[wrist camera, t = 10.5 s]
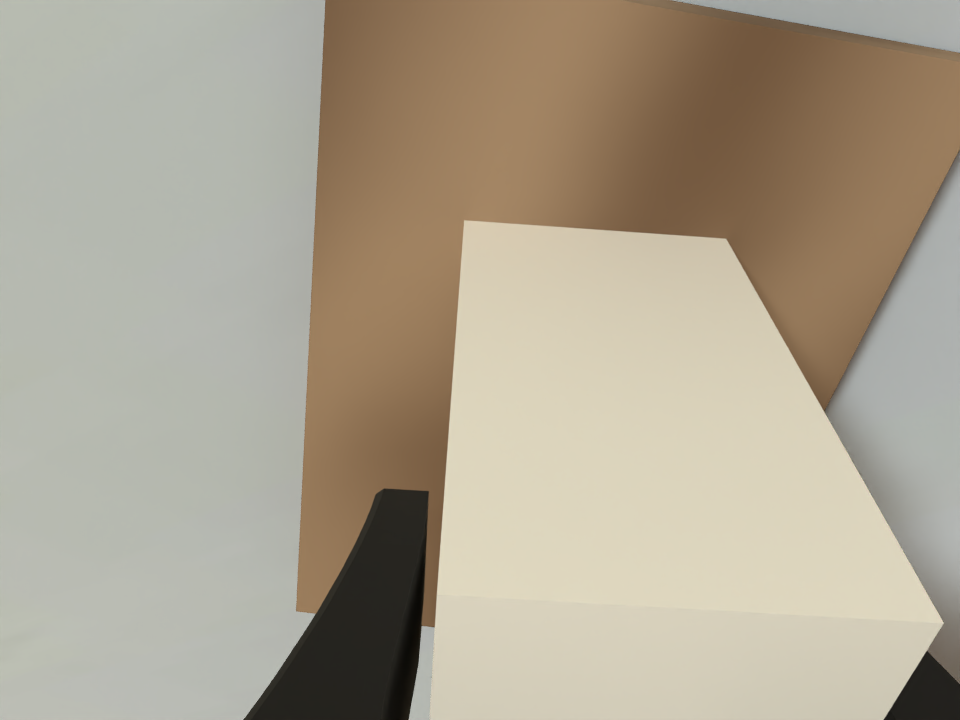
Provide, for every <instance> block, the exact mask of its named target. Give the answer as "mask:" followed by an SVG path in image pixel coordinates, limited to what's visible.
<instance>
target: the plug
mask: <svg viewBox="0 0 960 720" xmlns="http://www.w3.org/2000/svg"><path fill="white" fill-rule="evenodd" d="M943 624H944V623H943V621H942V619H941V617H940V616H939V614H938V612H937V610H936V609H935V607H934V605H933V603H932V602H931V600H930V598H929V596H928V594H927V593H926V591H925V589H924V587H923V586H922V584H921V582H920V580H919V579H918V577H917V575H916V573H915V571H914V570H913V568H912V566H911V564H910V563H909V561H908V559H907V557H906V556H905V554H904V552H903V550H902V548H901V547H900V545H899V543H898V541H897V540H896V538H895V536H894V534H893V533H892V531H891V529H890V527H889V526H888V524H887V522H886V520H885V518H884V517H883V515H882V513H881V511H880V510H879V508H878V506H877V504H876V503H875V501H874V499H873V497H872V496H871V494H870V492H869V490H868V488H867V487H866V485H865V483H864V481H863V480H862V478H861V476H860V474H859V473H858V471H857V469H856V467H855V465H854V464H853V462H852V460H851V458H850V457H849V455H848V453H847V451H846V450H845V448H844V446H843V444H842V443H841V441H840V439H839V437H838V435H837V434H836V432H835V430H834V428H833V427H832V425H831V423H830V421H829V420H828V418H827V416H826V414H825V412H824V411H823V409H822V407H821V405H820V404H819V402H818V400H817V398H816V397H815V395H814V393H813V391H812V390H811V388H810V386H809V384H808V382H807V381H806V379H805V377H804V375H803V374H802V372H801V370H800V368H799V367H798V365H797V363H796V361H795V359H794V358H793V356H792V354H791V352H790V351H789V349H788V347H787V345H786V344H785V342H784V340H783V338H782V337H781V335H780V333H779V331H778V329H777V328H776V326H775V324H774V322H773V321H772V319H771V317H770V315H769V314H768V312H767V310H766V308H765V306H764V305H763V303H762V301H761V299H760V298H759V296H758V294H757V292H756V291H755V289H754V287H753V285H752V284H751V282H750V280H749V278H748V276H747V275H746V273H745V271H744V269H743V268H742V266H741V264H740V262H739V261H738V259H737V257H736V255H735V253H734V252H733V250H732V248H731V246H730V245H729V243H728V241H727V239H723V238H709V237H695V236H681V235H666V234H652V233H638V232H624V231H610V230H595V229H581V228H567V227H553V226H539V225H524V224H510V223H496V222H482V221H467V220H464V229H463V243H462V257H461V270H460V284H459V298H458V312H457V325H456V339H455V353H454V366H453V380H452V394H451V407H450V421H449V435H448V448H447V462H446V476H445V489H444V503H443V517H442V531H441V544H440V558H439V572H438V585H437V600H436V617H435V634H434V651H433V668H432V685H431V702H430V719H429V720H884V718H885V717H886V715H887V713H888V712H889V710H890V709H891V707H892V705H893V704H894V702H895V701H896V699H897V697H898V696H899V694H900V693H901V691H902V689H903V688H904V686H905V685H906V683H907V681H908V680H909V678H910V677H911V675H912V673H913V672H914V670H915V669H916V667H917V665H918V664H919V662H920V661H921V659H922V657H923V656H924V654H925V653H926V651H927V649H928V648H929V646H930V645H931V643H932V641H933V640H934V638H935V637H936V635H937V633H938V632H939V630H940V629H941V627H942V625H943Z"/></svg>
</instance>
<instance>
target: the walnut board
mask: <svg viewBox="0 0 960 720" xmlns="http://www.w3.org/2000/svg"><path fill="white" fill-rule="evenodd" d="M959 149H960V53H957V52H951V51H946V50H940V49H935V48H929V47H924V46H918V45H913V44H907V43H902V42H897V41H891V40H886V39H880V38H875V37H869V36H864V35H858V34H853V33H847V32H842V31H836V30H831V29H825V28H820V27H814V26H809V25H803V24H798V23H792V22H787V21H781V20H776V19H770V18H765V17H759V16H754V15H748V14H743V13H737V12H732V11H726V10H721V9H715V8H710V7H704V6H699V5H693V4H688V3H683V2H677V1H672V0H326V1H325V22H324V43H323V64H322V84H321V105H320V126H319V147H318V168H317V188H316V209H315V230H314V251H313V272H312V292H311V313H310V334H309V355H308V376H307V396H306V417H305V438H304V459H303V480H302V501H301V521H300V542H299V563H298V584H297V605H296V611H299V612H307V613H317V611H318V610H319V608H320V606H321V604H322V603H323V601H324V599H325V597H326V596H327V594H328V592H329V590H330V589H331V587H332V585H333V584H334V582H335V580H336V578H337V577H338V575H339V573H340V571H341V570H342V568H343V566H344V564H345V562H346V560H347V558H348V556H349V554H350V552H351V550H352V549H353V547H354V545H355V543H356V541H357V538H358V536H359V534H360V532H361V530H362V528H363V526H364V523H365V521H366V519H367V516H368V514H369V511H370V509H371V506H372V503H373V500H374V497H375V495H376V494H377V493H378V492H379V491H381V490H382V489H384V488H386V489H403V490H419V491H429V500H428V522H427V543H426V565H425V587H424V601H423V613H422V626H429V627H435V617H436V600H437V585H438V572H439V558H440V544H441V531H442V517H443V503H444V489H445V476H446V462H447V448H448V435H449V421H450V407H451V394H452V380H453V366H454V353H455V339H456V325H457V312H458V298H459V284H460V270H461V257H462V243H463V229H464V220H467V221H482V222H496V223H510V224H524V225H539V226H553V227H567V228H581V229H595V230H610V231H624V232H638V233H652V234H666V235H681V236H695V237H709V238H723V239H727V241H728V243H729V245H730V246H731V248H732V250H733V252H734V253H735V255H736V257H737V259H738V261H739V262H740V264H741V266H742V268H743V269H744V271H745V273H746V275H747V276H748V278H749V280H750V282H751V284H752V285H753V287H754V289H755V291H756V292H757V294H758V296H759V298H760V299H761V301H762V303H763V305H764V306H765V308H766V310H767V312H768V314H769V315H770V317H771V319H772V321H773V322H774V324H775V326H776V328H777V329H778V331H779V333H780V335H781V337H782V338H783V340H784V342H785V344H786V345H787V347H788V349H789V351H790V352H791V354H792V356H793V358H794V359H795V361H796V363H797V365H798V367H799V368H800V370H801V372H802V374H803V375H804V377H805V379H806V381H807V382H808V384H809V386H810V388H811V390H812V391H813V393H814V395H815V397H816V398H817V400H818V402H819V404H820V405H821V407H822V409H823V411H825V409H826V407H827V405H828V403H829V401H830V399H831V397H832V395H833V393H834V391H835V389H836V387H837V385H838V384H839V382H840V380H841V378H842V376H843V374H844V372H845V370H846V368H847V366H848V364H849V362H850V360H851V358H852V356H853V354H854V353H855V351H856V349H857V347H858V345H859V343H860V341H861V339H862V337H863V335H864V333H865V331H866V329H867V327H868V325H869V324H870V322H871V320H872V318H873V316H874V314H875V312H876V310H877V308H878V306H879V304H880V302H881V300H882V298H883V296H884V294H885V293H886V291H887V289H888V287H889V285H890V283H891V281H892V279H893V277H894V275H895V273H896V271H897V269H898V267H899V265H900V263H901V262H902V260H903V258H904V256H905V254H906V252H907V250H908V248H909V246H910V244H911V242H912V240H913V238H914V236H915V234H916V233H917V231H918V229H919V227H920V225H921V223H922V221H923V219H924V217H925V215H926V213H927V211H928V209H929V207H930V205H931V203H932V202H933V200H934V198H935V196H936V194H937V192H938V190H939V188H940V186H941V184H942V182H943V180H944V178H945V176H946V174H947V173H948V171H949V169H950V167H951V165H952V163H953V161H954V159H955V157H956V155H957V153H958V151H959Z"/></svg>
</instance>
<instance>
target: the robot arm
mask: <svg viewBox="0 0 960 720" xmlns="http://www.w3.org/2000/svg"><path fill="white" fill-rule="evenodd" d="M428 500H429V491H419V490H403V489H386V488H384V489H382V490H381V491H379V492H378V493H377V494H376V495H375V497H374V500H373V503H372V506H371V509H370V511H369V514H368V516H367V519H366V521H365V523H364V526H363V528H362V530H361V532H360V534H359V536H358V538H357V541H356V543H355V545H354V547H353V549H352V550H351V552H350V554H349V556H348V558H347V560H346V562H345V564H344V566H343V568H342V570H341V571H340V573H339V575H338V577H337V578H336V580H335V582H334V584H333V585H332V587H331V589H330V590H329V592H328V594H327V596H326V597H325V599H324V601H323V603H322V604H321V606H320V608H319V610H318V611H317V613H316V615H315V616H314V618H313V619H312V621H311V623H310V624H309V626H308V627H307V629H306V630H305V632H304V633H303V635H302V636H301V638H300V640H299V641H298V643H297V644H296V646H295V647H294V649H293V650H292V652H291V653H290V655H289V656H288V658H287V659H286V661H285V662H284V664H283V665H282V667H281V668H280V670H279V671H278V673H277V674H276V676H275V677H274V679H273V680H272V681H271V683H270V684H269V686H268V687H267V688H266V690H265V691H264V693H263V694H262V695H261V697H260V698H259V700H258V701H257V702H256V704H255V705H254V706H253V708H252V709H251V710H250V712H249V713H248V715H247V716H246V717H245V718H244V720H408V719H409V714H410V708H411V702H412V697H413V691H414V685H415V680H416V674H417V668H418V662H419V650H420V638H421V626H422V613H423V601H424V587H425V565H426V543H427V522H428ZM884 720H960V684H959V683H958V682H957V681H956V680H955V679H954V678H953V677H952V676H951V675H950V674H949V673H948V672H947V671H946V670H945V669H944V668H943V667H942V666H941V665H940V664H939V663H938V662H937V661H936V660H935V659H934V658H933V657H932V656H931V655H930V653H929V652H928V651H926V653H925V654H924V656H923V657H922V659H921V661H920V662H919V664H918V665H917V667H916V669H915V670H914V672H913V673H912V675H911V677H910V678H909V680H908V681H907V683H906V685H905V686H904V688H903V689H902V691H901V693H900V694H899V696H898V697H897V699H896V701H895V702H894V704H893V705H892V707H891V709H890V710H889V712H888V713H887V715H886V717H885V718H884Z"/></svg>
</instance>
